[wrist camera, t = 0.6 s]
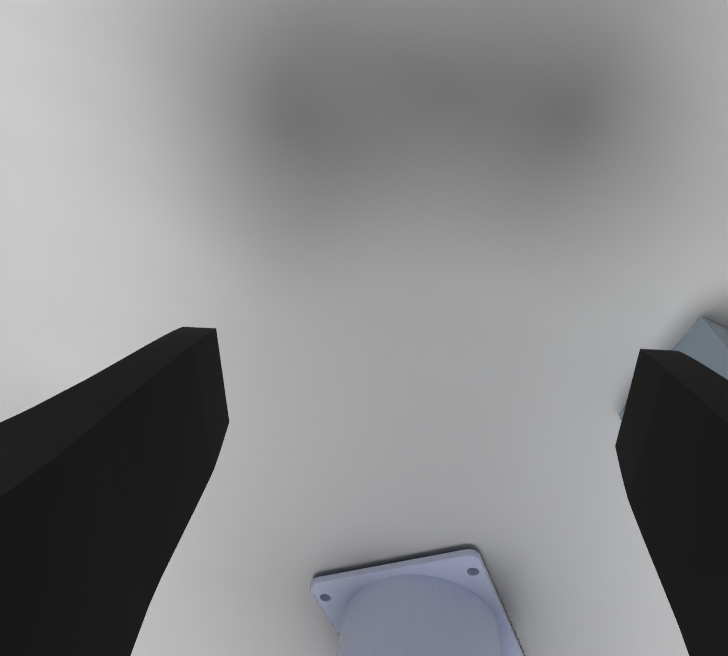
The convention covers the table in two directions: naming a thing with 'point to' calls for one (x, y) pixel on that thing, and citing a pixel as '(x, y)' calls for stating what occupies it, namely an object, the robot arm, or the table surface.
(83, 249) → the table surface
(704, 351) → the cube
